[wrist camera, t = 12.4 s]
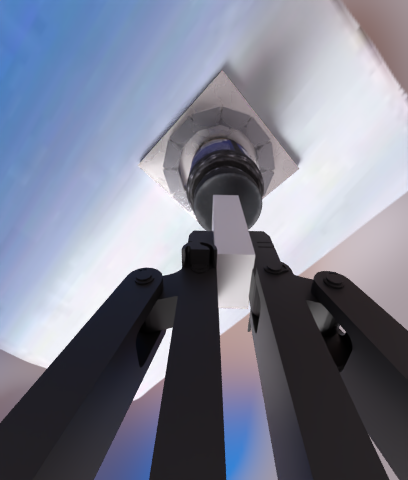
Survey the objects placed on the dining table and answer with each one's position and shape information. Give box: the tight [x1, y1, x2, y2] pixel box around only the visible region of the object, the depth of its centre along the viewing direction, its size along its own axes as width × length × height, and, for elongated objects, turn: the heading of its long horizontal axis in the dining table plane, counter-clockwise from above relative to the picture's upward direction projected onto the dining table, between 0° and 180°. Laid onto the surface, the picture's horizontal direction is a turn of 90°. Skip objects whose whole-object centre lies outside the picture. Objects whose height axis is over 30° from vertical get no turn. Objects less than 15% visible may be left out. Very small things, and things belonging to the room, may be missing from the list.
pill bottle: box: [186, 138, 264, 231], centre depth 22 cm, size 6×6×11 cm
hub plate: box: [138, 70, 299, 220], centre depth 27 cm, size 12×12×2 cm
